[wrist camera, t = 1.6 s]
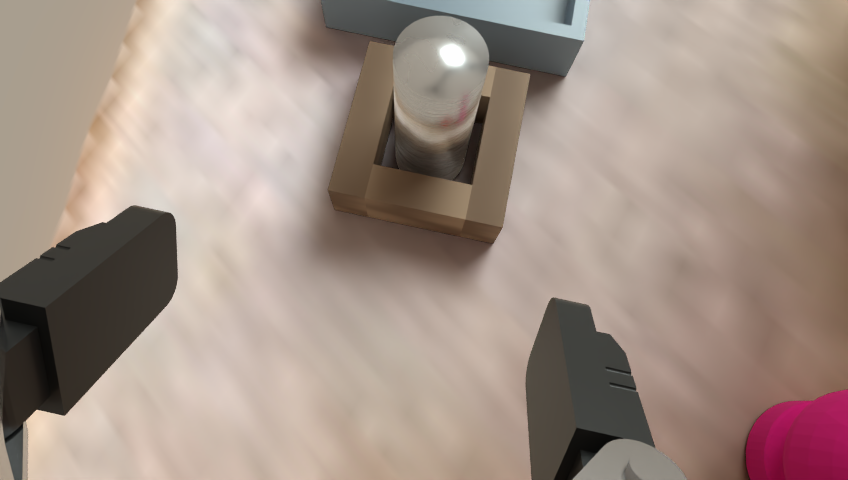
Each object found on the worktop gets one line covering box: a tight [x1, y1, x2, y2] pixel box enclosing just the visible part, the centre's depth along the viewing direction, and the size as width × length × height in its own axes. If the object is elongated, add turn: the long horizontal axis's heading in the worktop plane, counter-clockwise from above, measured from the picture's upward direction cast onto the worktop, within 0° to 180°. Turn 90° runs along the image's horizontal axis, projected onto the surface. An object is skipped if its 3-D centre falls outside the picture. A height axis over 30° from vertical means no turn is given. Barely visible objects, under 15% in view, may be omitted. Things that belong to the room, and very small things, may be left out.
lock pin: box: [393, 16, 489, 180], centre depth 28 cm, size 4×4×10 cm
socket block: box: [328, 41, 530, 244], centre depth 31 cm, size 9×9×3 cm
